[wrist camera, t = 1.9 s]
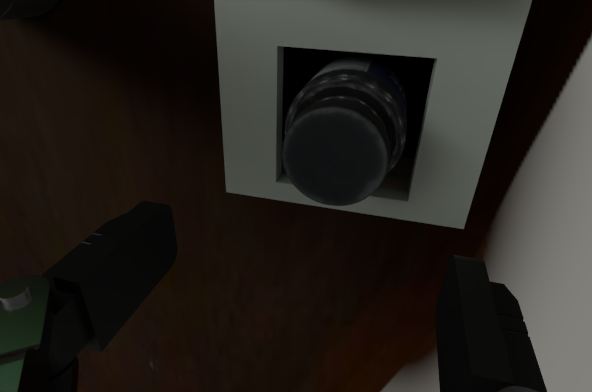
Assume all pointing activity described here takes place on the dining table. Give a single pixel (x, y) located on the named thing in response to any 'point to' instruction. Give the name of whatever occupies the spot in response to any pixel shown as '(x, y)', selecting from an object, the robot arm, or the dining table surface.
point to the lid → (378, 40)
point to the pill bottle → (346, 129)
